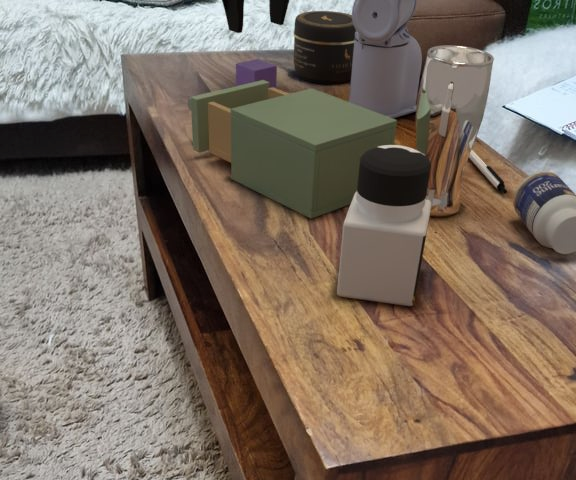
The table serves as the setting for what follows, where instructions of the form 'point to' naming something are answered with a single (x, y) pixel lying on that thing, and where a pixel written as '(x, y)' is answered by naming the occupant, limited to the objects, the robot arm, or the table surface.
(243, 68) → the cube
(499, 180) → the pen
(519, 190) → the pill bottle
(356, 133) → the cabinet
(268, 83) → the drawer
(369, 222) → the medicine bottle
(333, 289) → the table surface
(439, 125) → the beer glass
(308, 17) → the jar
